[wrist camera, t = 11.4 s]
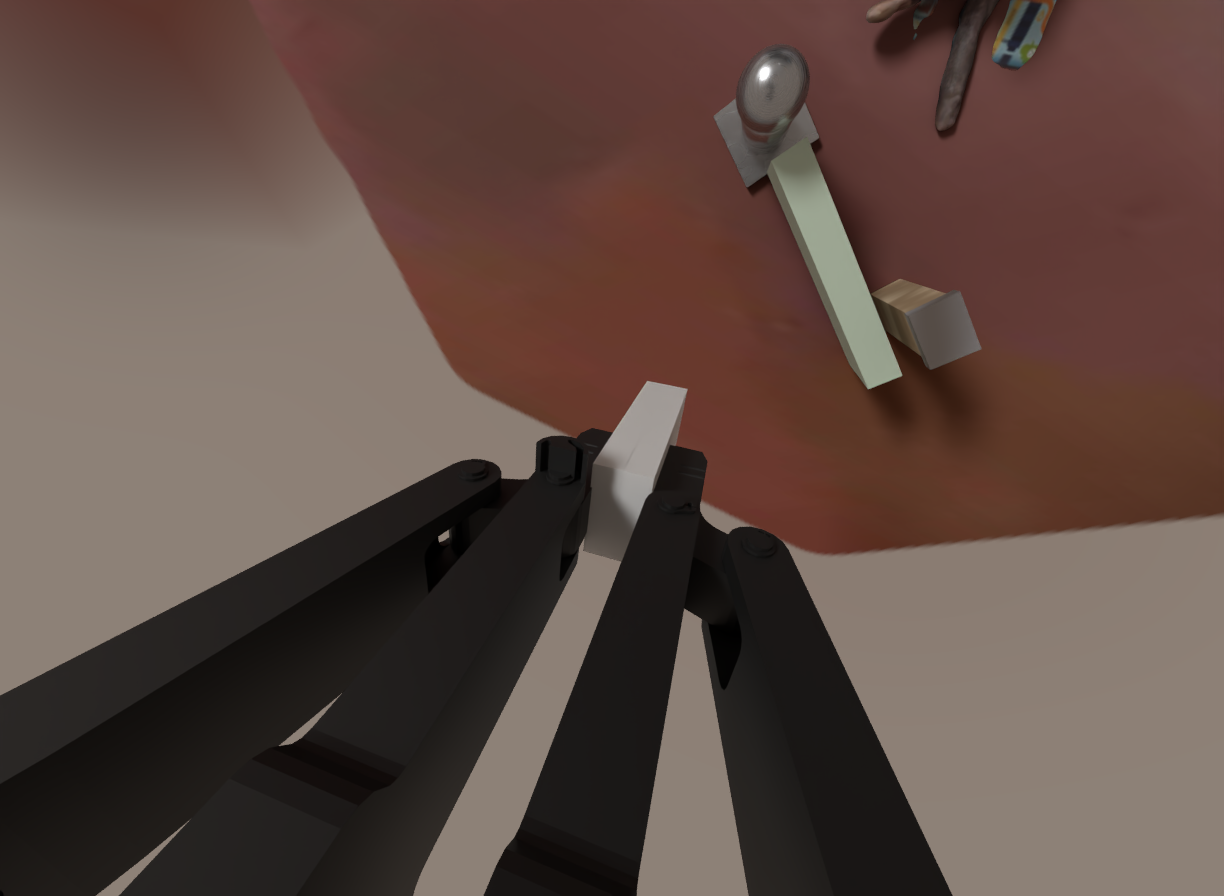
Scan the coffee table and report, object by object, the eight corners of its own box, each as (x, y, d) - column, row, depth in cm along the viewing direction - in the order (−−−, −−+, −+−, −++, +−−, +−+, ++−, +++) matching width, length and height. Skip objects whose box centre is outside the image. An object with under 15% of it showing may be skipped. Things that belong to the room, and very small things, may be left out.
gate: (766, 172, 30) (771, 160, 25) (796, 153, 29) (807, 136, 24) (849, 364, 34) (868, 389, 28) (877, 352, 33) (902, 375, 27)
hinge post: (785, 61, 28) (805, -26, 18) (818, 138, 29) (852, 95, 20) (714, 118, 30) (698, 66, 21) (746, 188, 31) (746, 170, 22)
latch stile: (902, 274, 31) (960, 291, 23) (919, 317, 32) (981, 348, 23) (866, 293, 32) (908, 315, 24) (883, 333, 33) (930, 369, 24)
